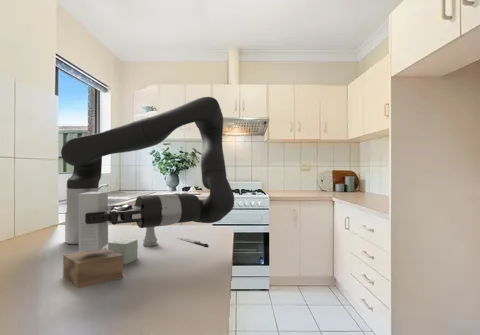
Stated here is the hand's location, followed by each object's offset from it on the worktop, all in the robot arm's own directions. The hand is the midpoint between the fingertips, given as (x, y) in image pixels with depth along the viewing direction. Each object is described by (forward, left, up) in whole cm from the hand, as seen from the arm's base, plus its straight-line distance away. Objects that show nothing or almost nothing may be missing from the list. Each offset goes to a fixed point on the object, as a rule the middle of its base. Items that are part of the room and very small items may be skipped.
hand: (82, 216), depth 67 cm
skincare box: (+1, +2, -7) cm, 8 cm away
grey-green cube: (-4, +14, -13) cm, 20 cm away
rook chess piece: (-11, +30, -13) cm, 35 cm away
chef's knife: (-3, +41, -14) cm, 43 cm away
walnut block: (+1, +2, -13) cm, 14 cm away
